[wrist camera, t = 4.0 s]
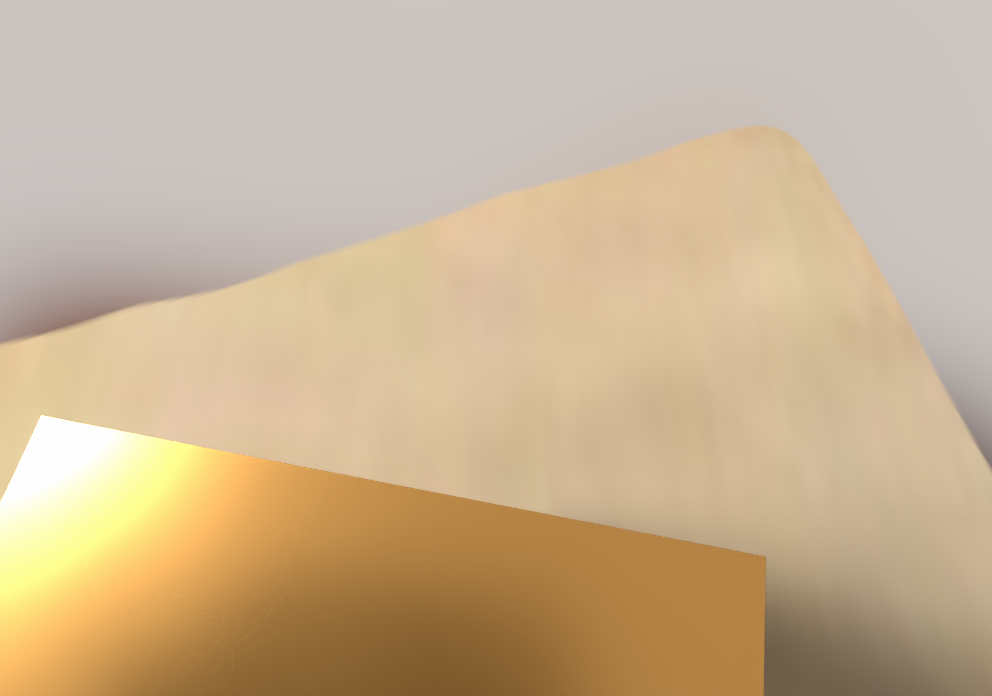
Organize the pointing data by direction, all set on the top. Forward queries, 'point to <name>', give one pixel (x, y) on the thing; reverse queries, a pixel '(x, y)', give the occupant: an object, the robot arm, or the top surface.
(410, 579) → the orange and grey post
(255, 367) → the top surface
